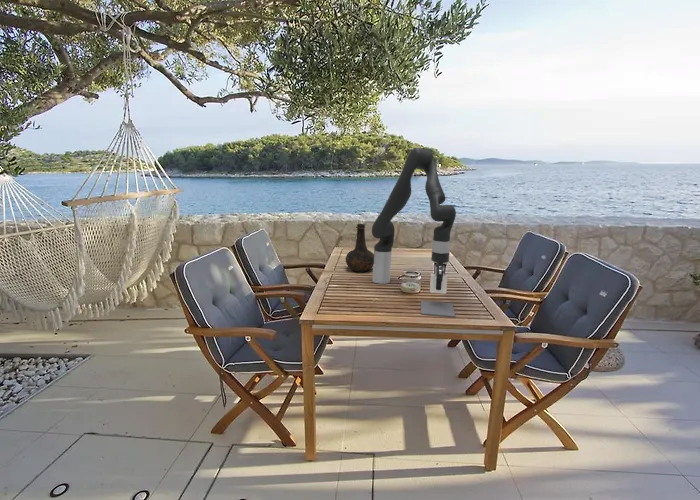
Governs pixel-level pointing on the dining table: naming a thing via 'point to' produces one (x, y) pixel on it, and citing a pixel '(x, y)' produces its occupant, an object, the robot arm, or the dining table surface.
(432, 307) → the mat
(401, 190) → the robot arm
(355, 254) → the glass bottle
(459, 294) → the dining table surface
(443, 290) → the white block copper side
